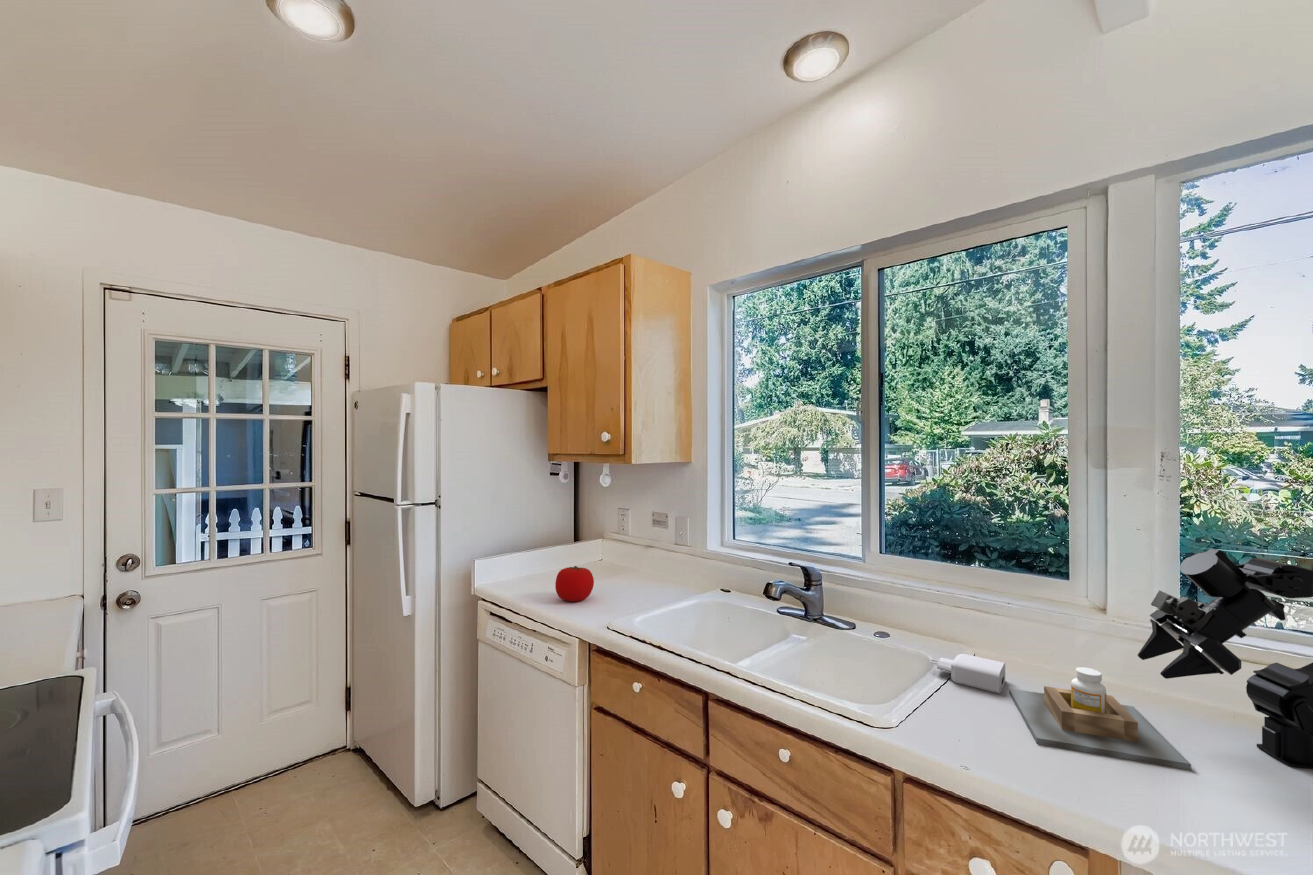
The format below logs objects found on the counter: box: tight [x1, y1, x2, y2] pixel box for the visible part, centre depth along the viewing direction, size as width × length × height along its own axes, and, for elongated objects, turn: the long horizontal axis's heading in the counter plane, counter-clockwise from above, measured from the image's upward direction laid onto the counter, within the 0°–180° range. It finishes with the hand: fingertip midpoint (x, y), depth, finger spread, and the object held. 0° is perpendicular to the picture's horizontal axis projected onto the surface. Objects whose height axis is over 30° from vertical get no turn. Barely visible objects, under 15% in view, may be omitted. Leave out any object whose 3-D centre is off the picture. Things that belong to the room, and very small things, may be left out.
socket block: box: [1008, 685, 1192, 771], centre depth 107 cm, size 22×22×4 cm
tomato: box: [554, 565, 595, 603], centre depth 192 cm, size 13×14×12 cm
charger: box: [929, 653, 1006, 695], centre depth 129 cm, size 5×9×15 cm
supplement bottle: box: [1070, 666, 1107, 713], centre depth 107 cm, size 5×5×10 cm
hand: (1150, 666), depth 102 cm, fingers open, 9 cm apart
